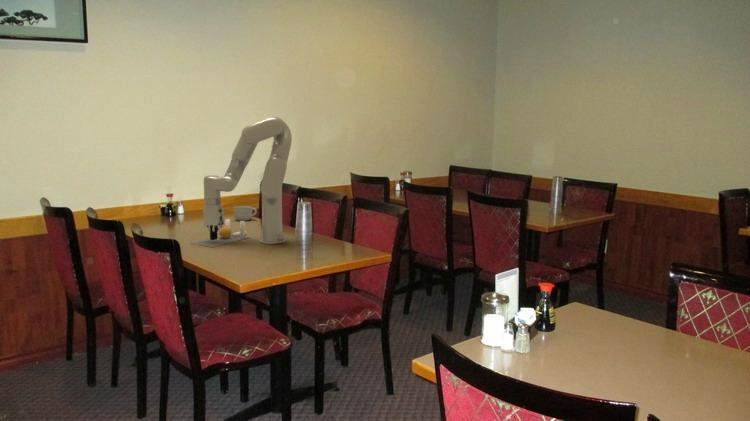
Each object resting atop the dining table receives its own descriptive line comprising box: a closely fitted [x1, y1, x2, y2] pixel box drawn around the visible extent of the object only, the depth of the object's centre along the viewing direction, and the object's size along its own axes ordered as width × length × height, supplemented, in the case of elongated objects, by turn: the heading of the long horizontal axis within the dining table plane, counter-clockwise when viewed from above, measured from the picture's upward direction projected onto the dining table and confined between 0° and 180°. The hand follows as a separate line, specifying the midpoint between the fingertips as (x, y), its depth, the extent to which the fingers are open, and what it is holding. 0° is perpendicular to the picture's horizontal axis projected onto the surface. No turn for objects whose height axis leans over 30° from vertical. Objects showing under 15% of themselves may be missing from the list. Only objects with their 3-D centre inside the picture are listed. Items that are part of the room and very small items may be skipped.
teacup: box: [233, 205, 258, 222], centre depth 340 cm, size 14×11×8 cm
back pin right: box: [224, 218, 231, 229], centre depth 296 cm, size 2×2×8 cm
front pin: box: [231, 229, 248, 237], centre depth 297 cm, size 2×2×8 cm
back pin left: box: [239, 221, 246, 238], centre depth 291 cm, size 2×2×8 cm
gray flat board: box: [190, 233, 252, 248], centre depth 287 cm, size 14×26×1 cm, turn 149°
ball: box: [218, 226, 232, 239], centre depth 291 cm, size 6×6×6 cm
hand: (213, 239), depth 282 cm, fingers closed
